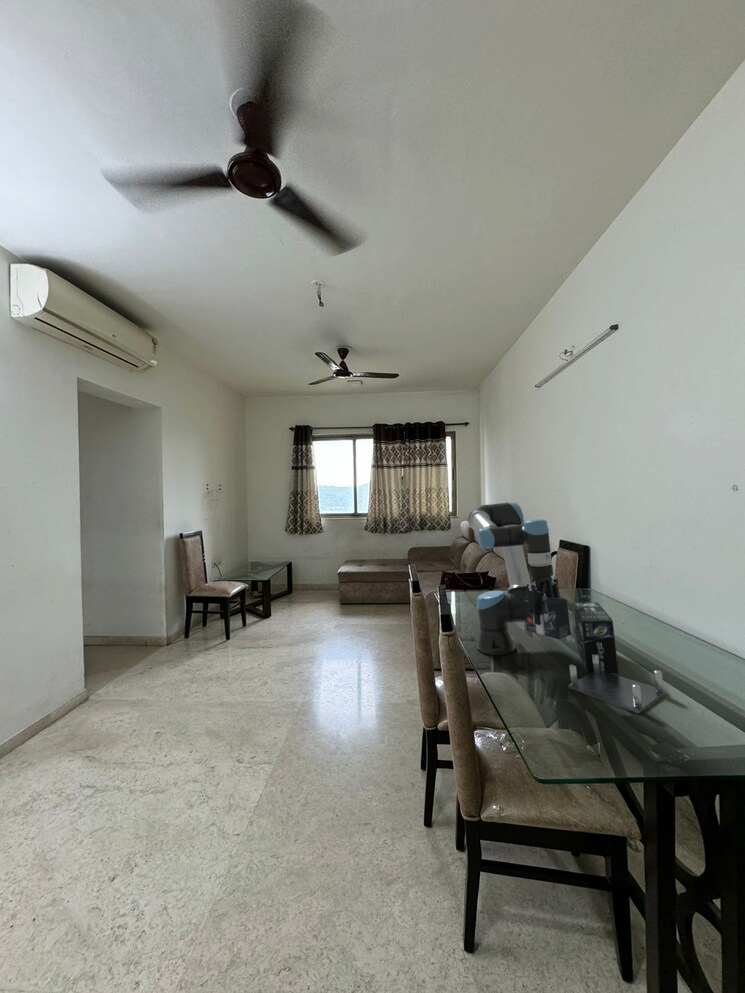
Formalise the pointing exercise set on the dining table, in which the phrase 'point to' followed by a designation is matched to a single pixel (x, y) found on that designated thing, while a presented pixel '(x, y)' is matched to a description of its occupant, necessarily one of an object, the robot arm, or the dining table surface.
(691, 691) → the dining table surface
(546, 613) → the small box
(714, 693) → the dining table surface
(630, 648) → the dining table surface
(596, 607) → the box
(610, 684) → the chassis
